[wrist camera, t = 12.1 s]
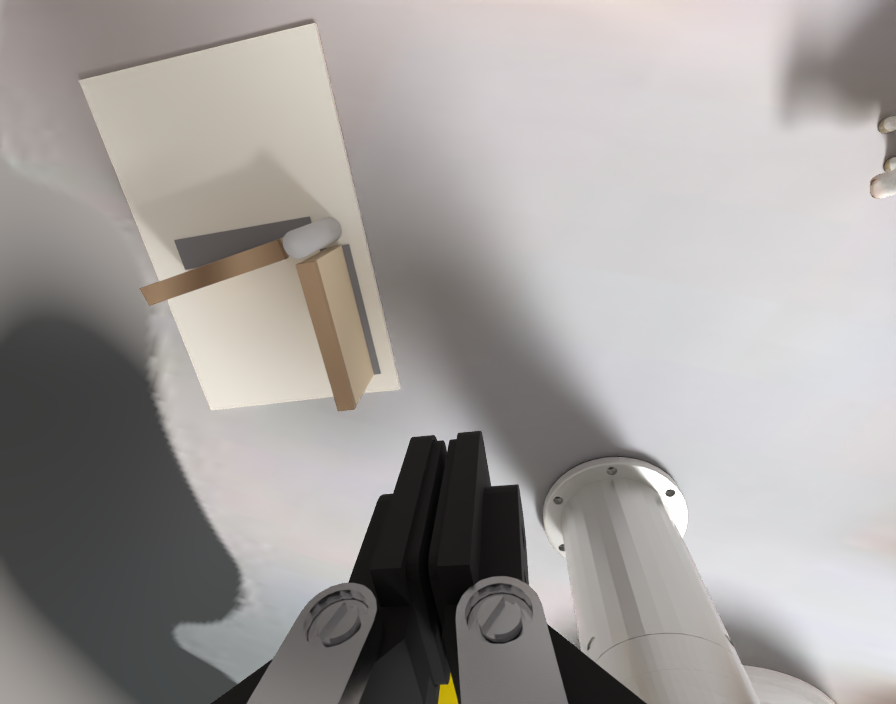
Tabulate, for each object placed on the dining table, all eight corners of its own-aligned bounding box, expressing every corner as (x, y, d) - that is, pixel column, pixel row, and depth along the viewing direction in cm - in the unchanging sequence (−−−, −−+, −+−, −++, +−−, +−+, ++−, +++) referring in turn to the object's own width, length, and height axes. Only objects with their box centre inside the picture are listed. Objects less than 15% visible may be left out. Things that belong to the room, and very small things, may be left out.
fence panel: (308, 227, 36) (277, 239, 31) (315, 244, 36) (285, 259, 31) (187, 270, 38) (139, 288, 33) (195, 285, 39) (149, 305, 34)
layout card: (400, 387, 41) (382, 429, 35) (213, 408, 44) (165, 450, 38) (316, 24, 32) (270, -9, 25) (83, 81, 34) (-12, 64, 28)
